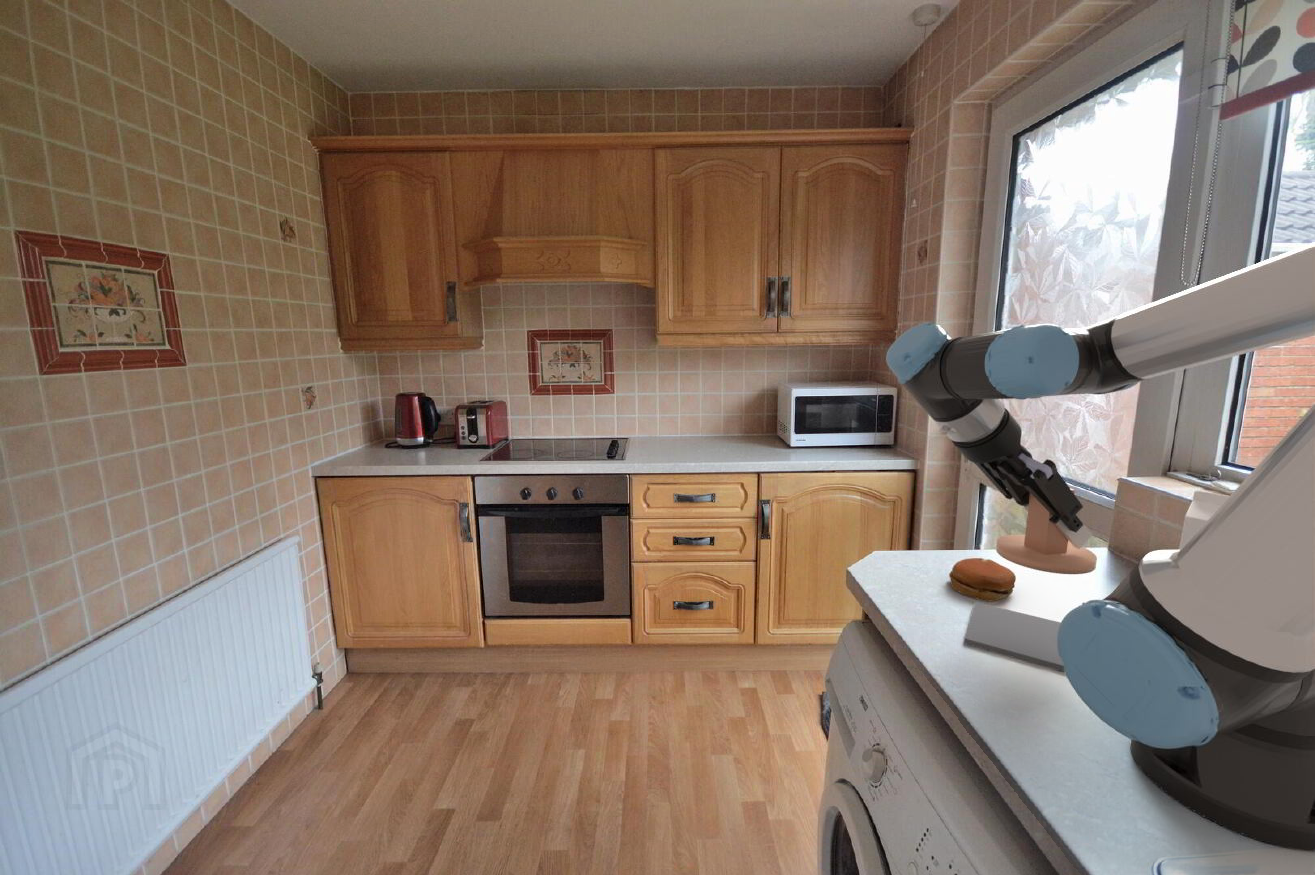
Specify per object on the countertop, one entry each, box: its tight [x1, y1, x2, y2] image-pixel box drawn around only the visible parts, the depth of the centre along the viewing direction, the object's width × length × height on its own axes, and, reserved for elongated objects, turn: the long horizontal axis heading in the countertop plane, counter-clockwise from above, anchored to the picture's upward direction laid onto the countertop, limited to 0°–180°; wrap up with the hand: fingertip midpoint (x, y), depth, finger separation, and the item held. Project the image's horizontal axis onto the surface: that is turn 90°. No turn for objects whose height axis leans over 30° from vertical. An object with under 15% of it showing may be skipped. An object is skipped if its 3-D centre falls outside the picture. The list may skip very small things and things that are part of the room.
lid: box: [995, 487, 1098, 575], centre depth 79 cm, size 12×12×10 cm
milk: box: [1178, 490, 1230, 550], centre depth 79 cm, size 6×6×22 cm
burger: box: [948, 557, 1016, 602], centre depth 97 cm, size 10×9×5 cm
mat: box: [963, 601, 1064, 672], centre depth 82 cm, size 13×14×1 cm
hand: (1069, 535), depth 80 cm, fingers closed on lid, 3 cm apart
